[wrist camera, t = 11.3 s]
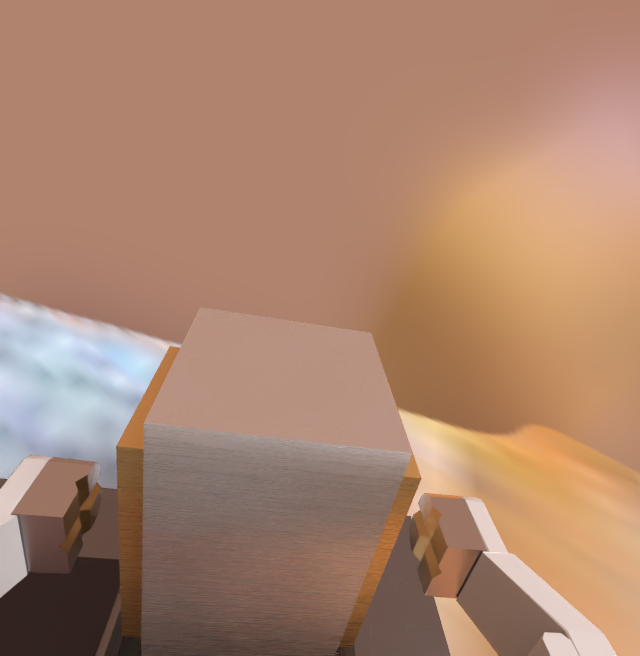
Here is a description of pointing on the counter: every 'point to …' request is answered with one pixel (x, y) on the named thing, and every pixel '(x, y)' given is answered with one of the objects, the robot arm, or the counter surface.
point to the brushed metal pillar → (260, 490)
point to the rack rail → (105, 609)
